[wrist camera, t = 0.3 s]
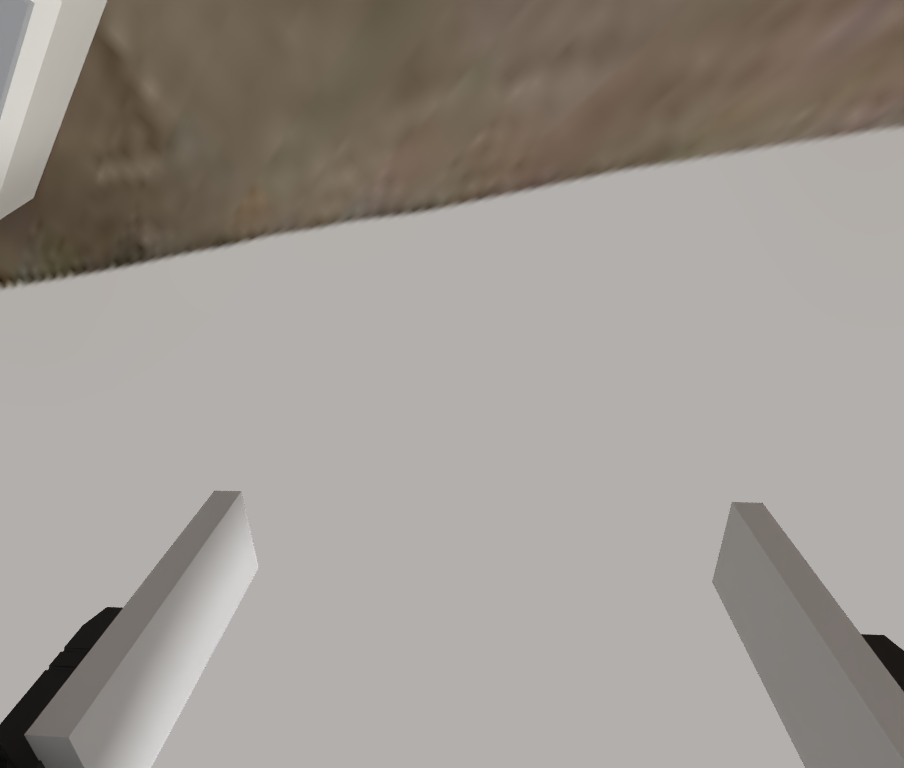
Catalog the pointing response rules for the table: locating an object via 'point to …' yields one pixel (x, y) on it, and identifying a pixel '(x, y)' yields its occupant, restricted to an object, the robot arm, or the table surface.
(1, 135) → the block
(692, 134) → the table surface
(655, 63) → the table surface
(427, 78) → the table surface
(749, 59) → the table surface
